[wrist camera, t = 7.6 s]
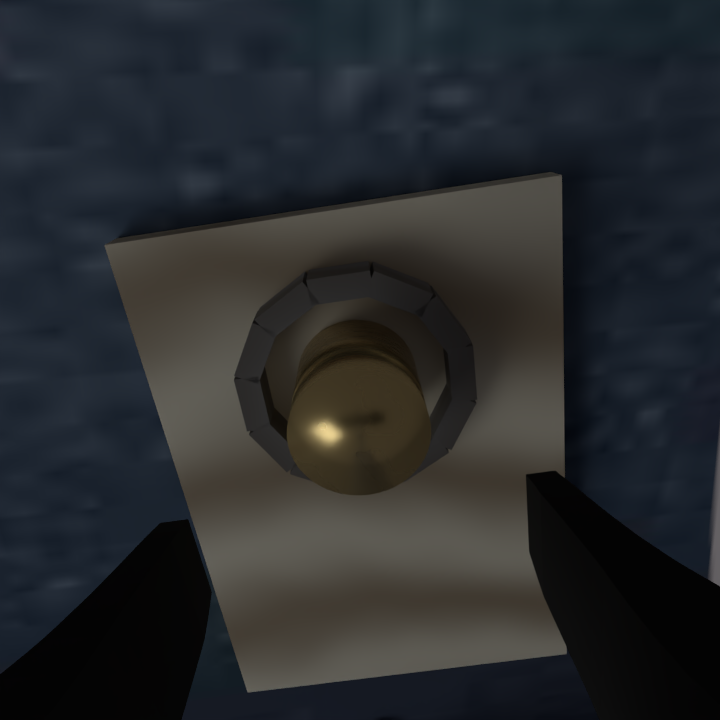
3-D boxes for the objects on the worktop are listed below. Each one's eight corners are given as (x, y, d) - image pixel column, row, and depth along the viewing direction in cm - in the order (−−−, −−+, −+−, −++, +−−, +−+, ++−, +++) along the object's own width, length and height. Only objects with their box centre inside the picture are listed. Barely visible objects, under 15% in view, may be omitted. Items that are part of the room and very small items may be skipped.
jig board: (558, 634, 26) (576, 679, 24) (251, 672, 27) (243, 718, 25) (550, 171, 18) (576, 179, 16) (116, 238, 19) (88, 254, 17)
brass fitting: (408, 311, 19) (423, 360, 15) (421, 418, 21) (437, 485, 17) (287, 329, 19) (273, 381, 16) (309, 434, 21) (300, 503, 17)
